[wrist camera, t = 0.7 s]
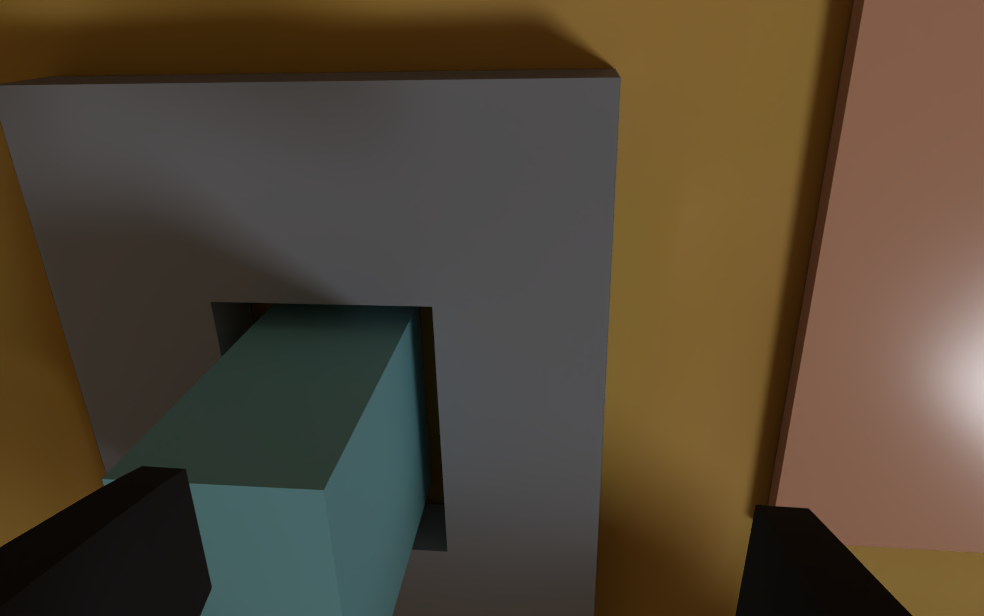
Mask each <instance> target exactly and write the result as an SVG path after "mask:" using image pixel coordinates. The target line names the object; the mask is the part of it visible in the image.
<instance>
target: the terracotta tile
mask: <svg viewBox="0 0 984 616" xmlns="http://www.w3.org/2000/svg"><path fill="white" fill-rule="evenodd" d="M768 506H781V507H797V508H809V509H810V510H811V511H812V512H813V513H814V514H815V515H816V516H817V517H818V518H819V519H820V520H821V521H822V522H823V523H824V524H825V525H826V526H827V528H828V529H829V530H830V531H831V532H832V533H833V534H834V535H835V536H836V537H837V538H838V539H839V540H840V541H841V542H842V543H843V544H844V545H854V546H872V547H890V548H908V549H927V550H945V551H963V552H981V553H984V0H854V2H853V8H852V14H851V20H850V26H849V32H848V38H847V44H846V49H845V55H844V61H843V67H842V73H841V79H840V85H839V90H838V96H837V102H836V108H835V114H834V120H833V126H832V132H831V137H830V143H829V149H828V155H827V161H826V167H825V173H824V179H823V184H822V190H821V196H820V202H819V208H818V214H817V220H816V225H815V231H814V237H813V243H812V249H811V255H810V261H809V267H808V272H807V278H806V284H805V290H804V296H803V302H802V308H801V314H800V319H799V325H798V331H797V337H796V343H795V349H794V355H793V361H792V366H791V372H790V378H789V384H788V390H787V396H786V402H785V407H784V413H783V419H782V425H781V431H780V437H779V443H778V449H777V454H776V460H775V466H774V472H773V478H772V484H771V490H770V496H769V501H768Z"/></svg>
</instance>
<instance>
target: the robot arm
mask: <svg viewBox="0 0 984 616" xmlns="http://www.w3.org/2000/svg"><path fill="white" fill-rule="evenodd" d="M211 589H212V585H211V580H210V576H209V571H208V567H207V562H206V558H205V553H204V549H203V544H202V540H201V535H200V531H199V526H198V522H197V517H196V513H195V508H194V503H193V499H192V494H191V490H190V485H189V481H188V476H187V472H186V469H182V468H166V467H150V466H141V467H139V468H137V469H135V470H133V471H131V472H129V473H127V474H125V475H123V476H121V477H120V478H118V479H116V480H114V481H112V482H110V483H109V484H107V485H105V486H103V487H102V488H100V489H98V490H96V491H95V492H93V493H91V494H89V495H88V496H86V497H84V498H83V499H81V500H79V501H78V502H76V503H74V504H72V505H71V506H69V507H67V508H66V509H64V510H62V511H61V512H59V513H57V514H56V515H54V516H52V517H51V518H49V519H47V520H45V521H44V522H42V523H40V524H39V525H37V526H35V527H34V528H32V529H30V530H29V531H27V532H25V533H24V534H22V535H20V536H18V537H17V538H15V539H13V540H12V541H10V542H8V543H7V544H5V545H3V546H2V547H0V616H200V615H201V613H202V611H203V608H204V606H205V604H206V601H207V599H208V596H209V594H210V592H211ZM736 616H912V615H911V614H910V613H909V612H908V611H907V610H906V609H905V608H904V607H903V606H902V605H901V604H900V603H899V602H898V601H897V600H896V599H895V598H894V596H893V595H892V594H891V593H890V592H889V591H888V590H887V589H886V588H885V587H884V586H883V585H882V584H881V583H880V582H879V581H878V580H877V579H876V578H875V577H874V576H873V575H872V574H871V573H870V572H869V571H868V570H867V569H866V567H865V566H864V565H863V564H862V563H861V562H860V561H859V560H858V559H857V558H856V557H855V556H854V555H853V554H852V553H851V552H850V551H849V550H848V549H847V547H846V546H845V545H844V544H843V543H842V542H841V541H840V540H839V539H838V538H837V537H836V536H835V535H834V534H833V533H832V532H831V531H830V530H829V529H828V528H827V526H826V525H825V524H824V523H823V522H822V521H821V520H820V519H819V518H818V517H817V516H816V515H815V514H814V513H813V512H812V511H811V510H810V509H809V508H797V507H781V506H765V505H756V506H755V512H754V517H753V523H752V528H751V534H750V539H749V545H748V550H747V556H746V561H745V566H744V572H743V577H742V583H741V588H740V594H739V599H738V605H737V610H736Z"/></svg>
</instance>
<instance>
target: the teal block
mask: <svg viewBox="0 0 984 616" xmlns="http://www.w3.org/2000/svg"><path fill="white" fill-rule="evenodd" d="M141 466H150V467H166V468H182V469H186V472H187V476H188V481H189V485H190V490H191V494H192V499H193V503H194V508H195V513H196V517H197V522H198V526H199V531H200V535H201V540H202V544H203V549H204V553H205V558H206V562H207V567H208V571H209V576H210V580H211V585H212V589H211V592H210V594H209V596H208V599H207V601H206V604H205V606H204V608H203V611H202V613H201V615H200V616H392V615H393V612H394V608H395V605H396V601H397V598H398V594H399V591H400V588H401V584H402V581H403V577H404V574H405V571H406V567H407V564H408V560H409V557H410V553H411V550H412V547H413V543H414V540H415V536H416V533H417V529H418V526H419V523H420V519H421V516H422V512H423V509H424V506H425V502H426V499H427V495H428V492H429V488H430V485H431V470H430V456H429V441H428V427H427V413H426V399H425V385H424V371H423V356H422V342H421V328H420V314H419V306H379V305H333V304H287V303H274V304H273V305H272V306H271V307H270V308H269V309H268V310H267V311H266V312H265V313H264V314H263V315H262V316H261V317H260V318H259V319H258V320H257V321H256V322H255V323H254V324H253V325H252V326H251V327H250V328H249V330H248V331H247V332H246V333H245V334H244V335H243V336H242V337H241V338H240V339H239V340H238V341H237V342H236V343H235V344H234V345H233V346H232V347H231V348H230V349H229V350H228V351H227V352H226V353H225V354H224V355H223V356H222V357H221V358H220V359H219V360H218V361H217V362H216V363H215V364H214V365H213V366H212V367H211V368H210V369H209V370H208V371H207V372H206V373H205V374H204V375H203V376H202V377H201V378H200V379H199V380H198V381H197V383H196V384H195V385H194V386H193V387H192V388H191V389H190V390H189V391H188V392H187V393H186V394H185V395H184V396H183V397H182V398H181V399H180V400H179V401H178V402H177V403H176V404H175V405H174V406H173V407H172V408H171V409H170V410H169V411H168V412H167V413H166V414H165V415H164V416H163V417H162V418H161V419H160V420H159V421H158V422H157V423H156V424H155V425H154V426H153V427H152V428H151V429H150V430H149V431H148V432H147V433H146V434H145V436H144V437H143V438H142V439H141V440H140V441H139V442H138V443H137V444H136V445H135V446H134V447H133V448H132V449H131V450H130V451H129V452H128V453H127V454H126V455H125V456H124V457H123V458H122V459H121V460H120V461H119V462H118V463H117V464H116V465H115V466H114V467H113V468H112V469H111V470H110V471H109V472H108V473H107V474H106V475H105V476H104V477H103V478H102V481H103V484H104V486H105V485H107V484H109V483H110V482H112V481H114V480H116V479H118V478H120V477H121V476H123V475H125V474H127V473H129V472H131V471H133V470H135V469H137V468H139V467H141Z"/></svg>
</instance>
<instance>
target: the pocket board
mask: <svg viewBox="0 0 984 616" xmlns="http://www.w3.org/2000/svg"><path fill="white" fill-rule="evenodd" d="M620 79H621V77H620V76H619V74H618V72H617V71H616V69H555V70H485V71H414V72H343V73H273V74H202V75H131V76H61V77H45V78H38V79H31V80H24V81H18V82H11V83H4V84H0V121H1V124H2V128H3V131H4V134H5V138H6V141H7V144H8V148H9V151H10V154H11V158H12V161H13V164H14V168H15V171H16V174H17V178H18V181H19V184H20V188H21V191H22V195H23V198H24V201H25V205H26V208H27V211H28V215H29V218H30V221H31V225H32V228H33V231H34V235H35V238H36V241H37V245H38V248H39V251H40V255H41V258H42V261H43V265H44V268H45V271H46V275H47V278H48V281H49V285H50V288H51V292H52V295H53V298H54V302H55V305H56V308H57V312H58V315H59V318H60V322H61V325H62V328H63V332H64V335H65V338H66V342H67V345H68V348H69V352H70V355H71V358H72V362H73V365H74V368H75V372H76V375H77V378H78V382H79V385H80V389H81V392H82V395H83V399H84V402H85V405H86V409H87V412H88V415H89V419H90V422H91V425H92V429H93V432H94V435H95V439H96V442H97V445H98V449H99V452H100V455H101V459H102V462H103V465H104V469H105V472H106V474H107V473H108V472H109V471H110V470H111V469H112V468H113V467H114V466H115V465H116V464H117V463H118V462H119V461H120V460H121V459H122V458H123V457H124V456H125V455H126V454H127V453H128V452H129V451H130V450H131V449H132V448H133V447H134V446H135V445H136V444H137V443H138V442H139V441H140V440H141V439H142V438H143V437H144V436H145V434H146V433H147V432H148V431H149V430H150V429H151V428H152V427H153V426H154V425H155V424H156V423H157V422H158V421H159V420H160V419H161V418H162V417H163V416H164V415H165V414H166V413H167V412H168V411H169V410H170V409H171V408H172V407H173V406H174V405H175V404H176V403H177V402H178V401H179V400H180V399H181V398H182V397H183V396H184V395H185V394H186V393H187V392H188V391H189V390H190V389H191V388H192V387H193V386H194V385H195V384H196V383H197V381H198V380H199V379H200V378H201V377H202V376H203V375H204V374H205V373H206V372H207V371H208V370H209V369H210V368H211V367H212V366H213V365H214V364H215V363H216V362H217V361H218V360H219V359H220V358H221V357H222V356H223V355H224V354H225V353H226V352H227V351H228V350H229V349H230V348H231V347H232V346H233V345H234V344H235V343H236V342H237V341H238V340H239V339H240V338H241V337H242V336H243V335H244V334H245V333H246V332H247V331H248V330H249V328H250V327H251V326H252V325H253V324H254V323H253V317H252V312H251V306H250V303H287V304H333V305H379V306H425V307H432V312H433V328H434V344H435V360H436V376H437V392H438V408H439V424H440V440H441V456H442V472H443V488H444V504H445V505H442V504H425V506H424V509H423V512H422V516H421V519H420V523H419V526H418V529H417V533H416V536H415V540H414V543H413V547H412V550H411V553H410V557H409V560H408V564H407V567H406V571H405V574H404V577H403V581H402V584H401V588H400V591H399V594H398V598H397V601H396V605H395V608H394V612H393V615H392V616H594V607H595V587H596V566H597V546H598V526H599V506H600V485H601V465H602V445H603V424H604V404H605V384H606V363H607V343H608V323H609V303H610V282H611V262H612V242H613V221H614V201H615V181H616V160H617V140H618V120H619V99H620Z"/></svg>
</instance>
